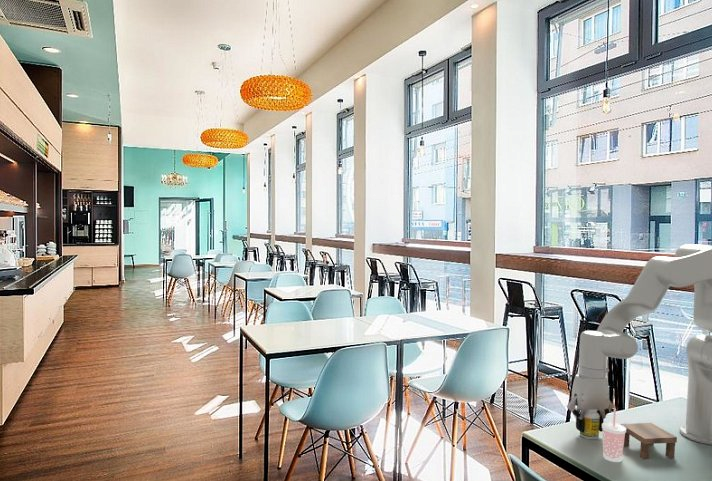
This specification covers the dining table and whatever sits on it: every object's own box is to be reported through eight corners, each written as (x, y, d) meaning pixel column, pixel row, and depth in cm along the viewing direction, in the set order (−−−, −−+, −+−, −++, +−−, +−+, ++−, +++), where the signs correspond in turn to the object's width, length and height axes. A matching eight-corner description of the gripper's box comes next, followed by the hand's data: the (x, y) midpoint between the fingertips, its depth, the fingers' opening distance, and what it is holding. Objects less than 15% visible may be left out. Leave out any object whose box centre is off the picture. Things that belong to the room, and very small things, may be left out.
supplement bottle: (586, 431, 160) (587, 401, 159) (602, 437, 155) (603, 406, 155) (575, 434, 157) (577, 404, 156) (592, 441, 152) (593, 409, 152)
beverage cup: (605, 451, 146) (608, 403, 145) (628, 459, 141) (630, 409, 141) (596, 457, 142) (598, 408, 141) (619, 465, 137) (622, 414, 137)
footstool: (650, 442, 152) (651, 422, 152) (675, 458, 143) (676, 437, 142) (619, 443, 151) (620, 424, 151) (643, 459, 141) (644, 438, 141)
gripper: (609, 367, 160) (606, 424, 161) (559, 368, 157) (556, 426, 158) (625, 375, 153) (622, 434, 153) (573, 376, 150) (570, 436, 151)
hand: (589, 429), depth 156 cm, fingers closed on supplement bottle, 5 cm apart
